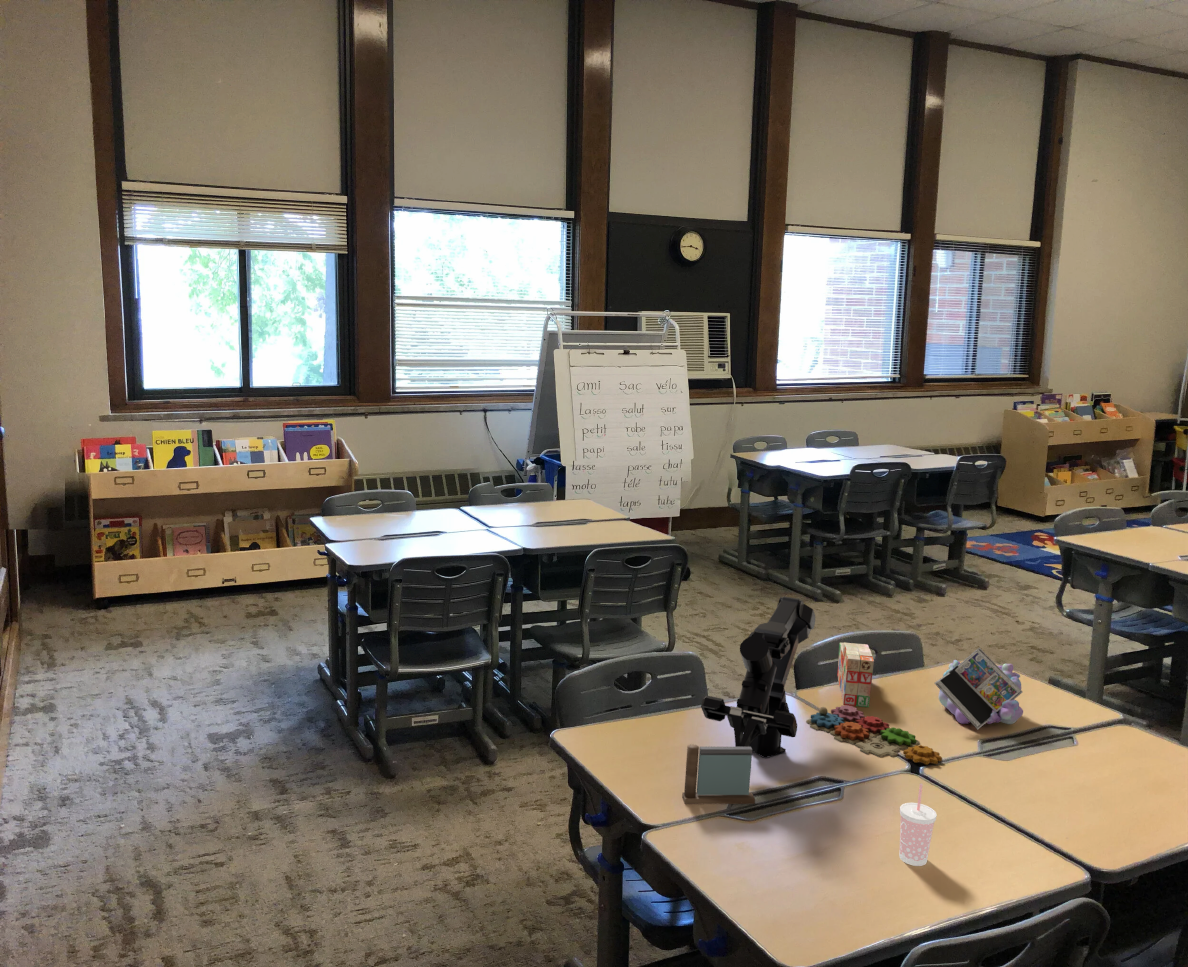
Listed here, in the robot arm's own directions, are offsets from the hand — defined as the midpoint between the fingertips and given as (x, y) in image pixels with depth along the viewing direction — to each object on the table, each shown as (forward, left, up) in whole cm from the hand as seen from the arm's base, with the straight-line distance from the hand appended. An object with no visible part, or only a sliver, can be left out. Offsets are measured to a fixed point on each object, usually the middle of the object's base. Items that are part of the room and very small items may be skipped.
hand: (738, 755), depth 190 cm
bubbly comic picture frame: (-79, +2, -8) cm, 79 cm away
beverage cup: (-11, +34, -8) cm, 36 cm away
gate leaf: (+4, +1, -6) cm, 8 cm away
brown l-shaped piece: (+5, +1, -8) cm, 9 cm away
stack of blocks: (-65, -25, -8) cm, 70 cm away
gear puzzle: (-46, -2, -8) cm, 46 cm away
